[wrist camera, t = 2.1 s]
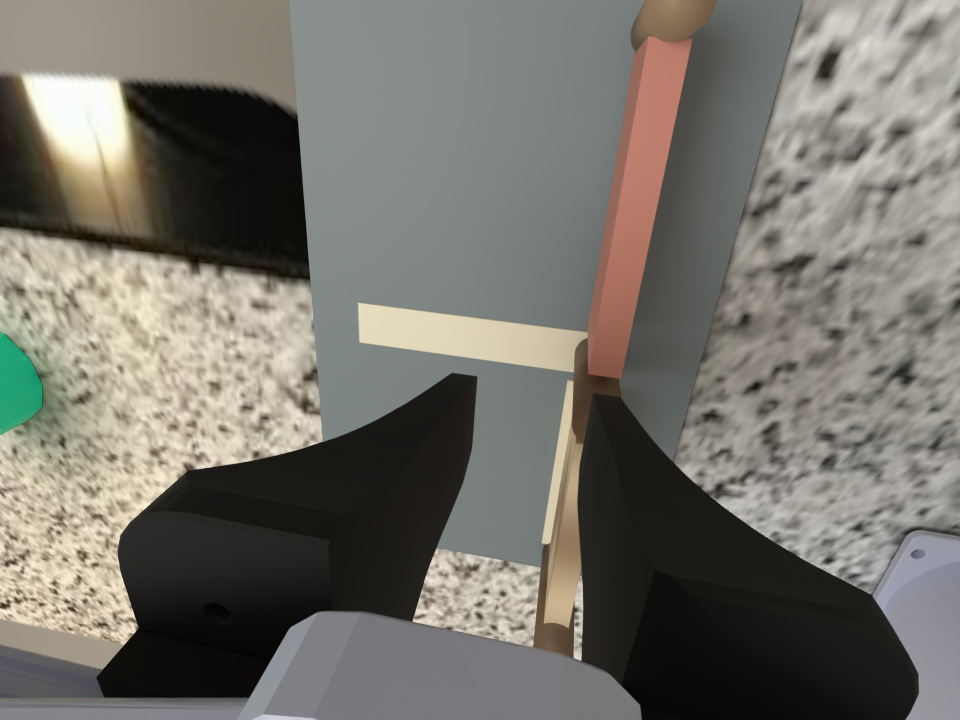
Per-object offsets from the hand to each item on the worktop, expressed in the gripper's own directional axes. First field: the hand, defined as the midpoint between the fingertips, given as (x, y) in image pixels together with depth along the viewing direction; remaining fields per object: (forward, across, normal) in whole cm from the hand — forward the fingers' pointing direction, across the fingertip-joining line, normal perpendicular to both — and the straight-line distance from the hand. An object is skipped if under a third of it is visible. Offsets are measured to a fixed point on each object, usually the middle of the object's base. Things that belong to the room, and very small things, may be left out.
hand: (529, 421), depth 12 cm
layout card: (+9, +2, +2) cm, 10 cm away
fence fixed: (+9, -2, +7) cm, 12 cm away
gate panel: (+9, -2, -4) cm, 10 cm away
